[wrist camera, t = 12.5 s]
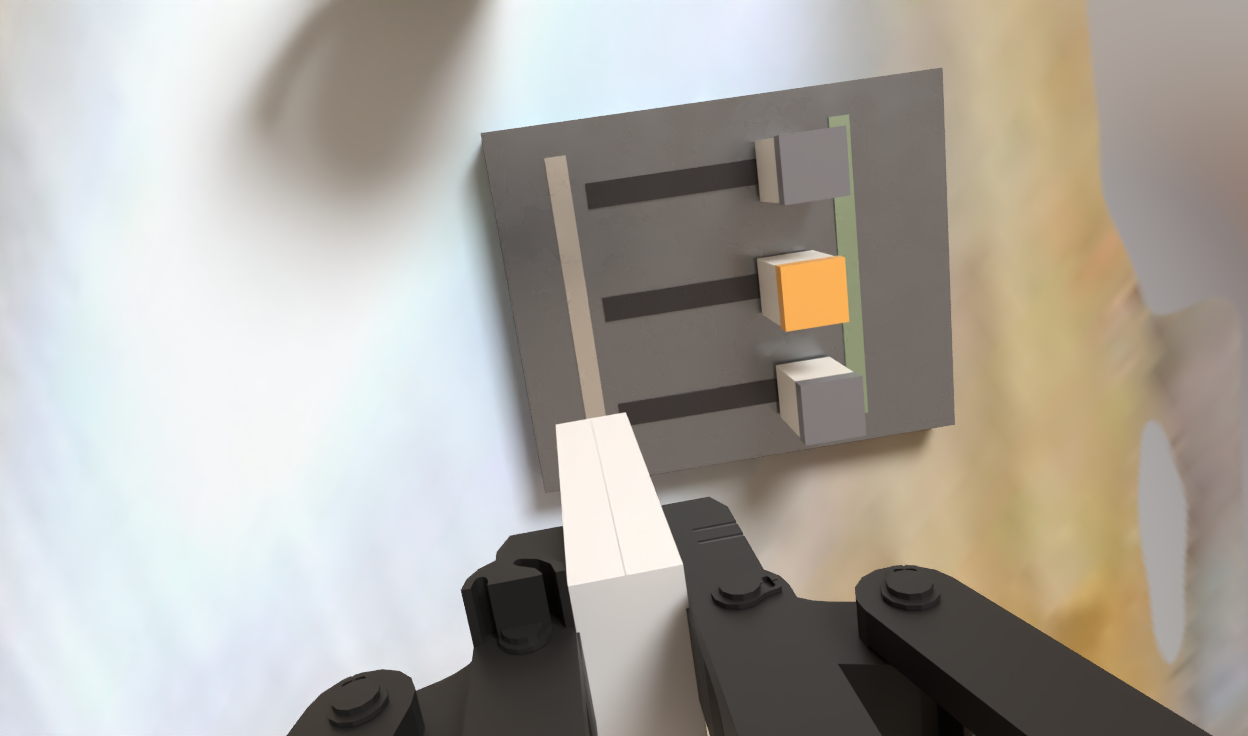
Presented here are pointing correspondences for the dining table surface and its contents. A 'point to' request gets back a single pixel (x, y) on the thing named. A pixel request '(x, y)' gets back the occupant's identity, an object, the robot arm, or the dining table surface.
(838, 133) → the block
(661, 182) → the panel
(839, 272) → the tripped breaker
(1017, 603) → the dining table surface
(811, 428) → the block
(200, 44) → the dining table surface
